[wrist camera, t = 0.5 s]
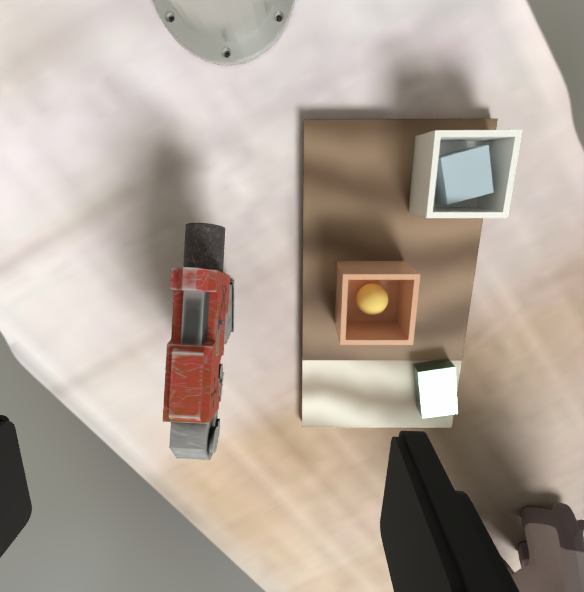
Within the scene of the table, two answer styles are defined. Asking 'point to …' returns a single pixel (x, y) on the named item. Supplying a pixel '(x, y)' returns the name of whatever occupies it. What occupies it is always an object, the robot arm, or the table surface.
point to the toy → (550, 551)
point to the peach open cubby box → (389, 323)
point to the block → (463, 175)
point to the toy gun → (198, 343)
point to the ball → (372, 299)
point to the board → (377, 247)
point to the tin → (435, 388)
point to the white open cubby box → (447, 141)
